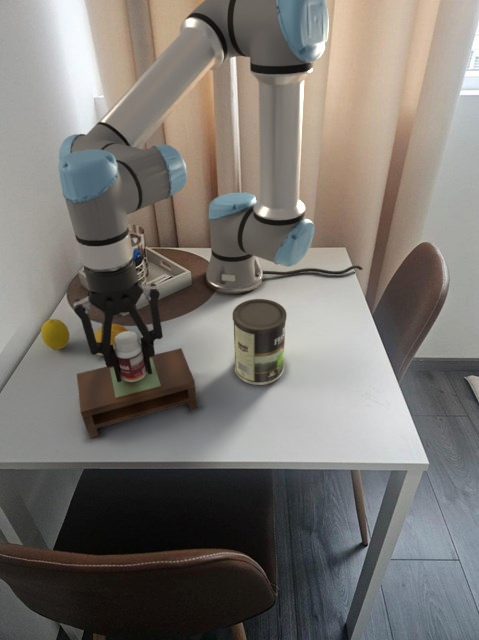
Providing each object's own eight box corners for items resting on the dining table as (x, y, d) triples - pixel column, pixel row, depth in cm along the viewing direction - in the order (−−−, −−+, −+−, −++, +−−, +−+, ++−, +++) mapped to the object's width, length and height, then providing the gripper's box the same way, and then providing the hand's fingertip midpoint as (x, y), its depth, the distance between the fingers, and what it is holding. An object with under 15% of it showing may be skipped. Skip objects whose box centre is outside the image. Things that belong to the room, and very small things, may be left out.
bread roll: (131, 330, 104) (128, 316, 102) (128, 355, 97) (124, 341, 94) (95, 333, 103) (91, 319, 101) (89, 359, 96) (85, 345, 94)
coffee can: (288, 356, 96) (291, 302, 87) (277, 389, 88) (280, 334, 79) (242, 348, 98) (241, 295, 90) (227, 379, 90) (225, 325, 82)
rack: (184, 373, 92) (181, 347, 88) (197, 407, 84) (194, 380, 80) (85, 399, 87) (76, 372, 82) (89, 438, 79) (80, 411, 75)
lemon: (65, 358, 97) (55, 329, 92) (42, 355, 98) (31, 326, 93) (77, 342, 101) (68, 313, 96) (55, 339, 102) (45, 311, 97)
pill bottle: (115, 374, 81) (106, 339, 76) (136, 361, 83) (128, 326, 78) (131, 387, 78) (122, 351, 73) (152, 372, 81) (145, 337, 76)
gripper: (161, 239, 72) (176, 348, 86) (45, 260, 67) (81, 372, 81) (172, 260, 66) (186, 374, 80) (46, 284, 61) (85, 400, 75)
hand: (133, 372), depth 81 cm, fingers closed on pill bottle, 5 cm apart
